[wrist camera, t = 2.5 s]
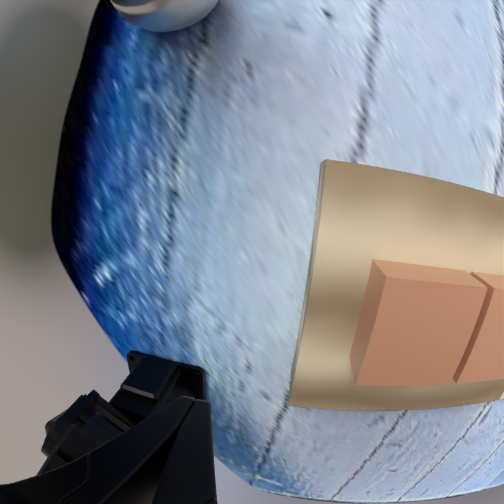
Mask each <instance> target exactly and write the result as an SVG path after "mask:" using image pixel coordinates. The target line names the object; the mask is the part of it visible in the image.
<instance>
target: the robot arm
mask: <svg viewBox="0 0 504 504" xmlns="http://www.w3.org/2000/svg"><path fill="white" fill-rule="evenodd" d="M127 361H128V366H129V371H130V374H129V375H128V376H127V378H126V379H125V380H124V381H123V383H122V384H121V388H120V389H119V390H118V391H117V393H116V394H115V395H114V396H113V397H112V399H111V400H110V401H109V402H107V401H106V400H104V399H103V398H102V397H101V396H100V394H98V393H97V392H96V391H95V390H93V391H91V392H90V393H89V394H88V395H86V394H85V395H84V396H83V395H81V396H80V397H79V398H78V399H77V400H76V401H75V402H74V403H73V404H72V405H71V407H69V408H68V409H67V410H65V411H64V412H62V413H61V414H59V415H58V416H56V417H55V418H53V419H51V420H50V421H48V423H47V424H46V425H45V430H46V438H45V440H44V444H43V446H42V449H41V452H42V453H43V454H44V455H46V456H47V457H48V458H47V460H46V461H45V463H44V464H43V466H42V468H41V469H40V471H39V472H38V474H37V475H36V476H34V477H31V478H28V479H24V480H21V481H18V482H14V483H10V484H3V485H0V504H218V503H217V494H216V482H215V469H214V454H213V438H212V419H211V403H210V402H209V401H205V373H204V370H203V369H202V368H200V367H198V366H193V365H188V364H184V363H180V362H175V361H171V360H167V359H163V358H159V357H155V356H152V355H148V354H144V353H140V352H137V351H133V350H131V351H129V353H128V354H127ZM196 372H197V373H199V374H197V373H196Z"/></svg>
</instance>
